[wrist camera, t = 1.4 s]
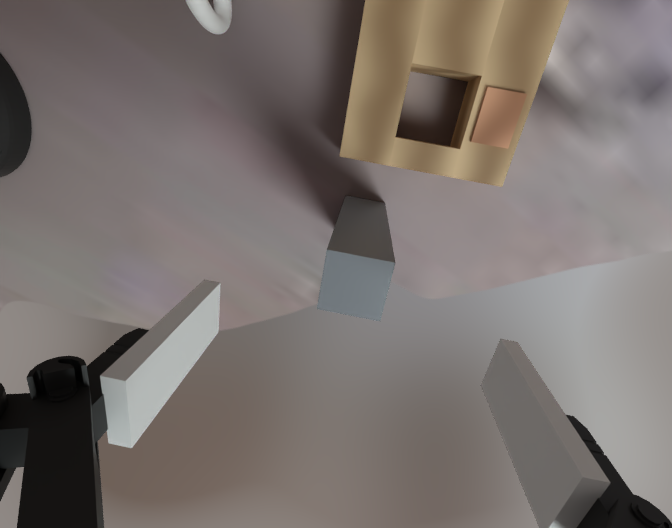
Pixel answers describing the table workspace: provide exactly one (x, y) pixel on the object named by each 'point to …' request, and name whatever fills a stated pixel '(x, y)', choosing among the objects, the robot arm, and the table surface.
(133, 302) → the table surface
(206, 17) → the mug
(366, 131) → the port block
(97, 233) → the table surface
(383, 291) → the plug
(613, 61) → the table surface
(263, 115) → the table surface
